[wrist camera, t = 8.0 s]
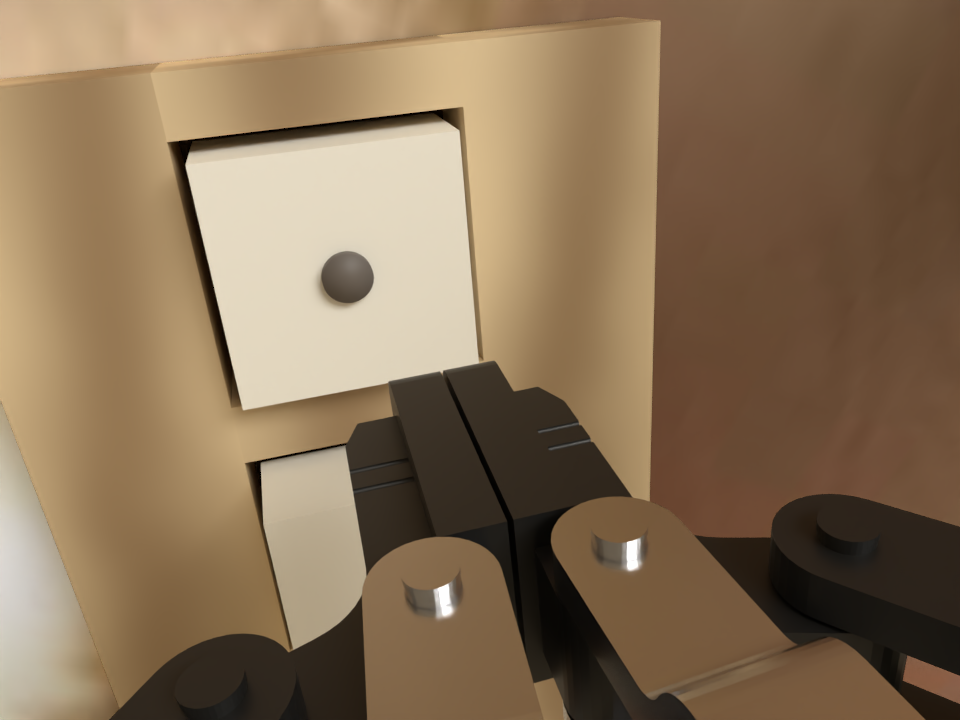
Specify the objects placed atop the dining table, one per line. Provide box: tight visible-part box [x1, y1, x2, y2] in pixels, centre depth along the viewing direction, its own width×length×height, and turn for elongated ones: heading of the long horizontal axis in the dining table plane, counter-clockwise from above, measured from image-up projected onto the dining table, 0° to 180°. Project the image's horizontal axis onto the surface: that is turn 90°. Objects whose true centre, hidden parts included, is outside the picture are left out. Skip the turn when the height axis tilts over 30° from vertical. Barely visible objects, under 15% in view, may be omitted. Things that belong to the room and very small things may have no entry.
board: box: [0, 17, 661, 720], centre depth 21 cm, size 14×22×2 cm, turn 5°
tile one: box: [185, 113, 479, 410], centre depth 17 cm, size 5×5×3 cm
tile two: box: [261, 445, 366, 650], centre depth 19 cm, size 5×5×3 cm
